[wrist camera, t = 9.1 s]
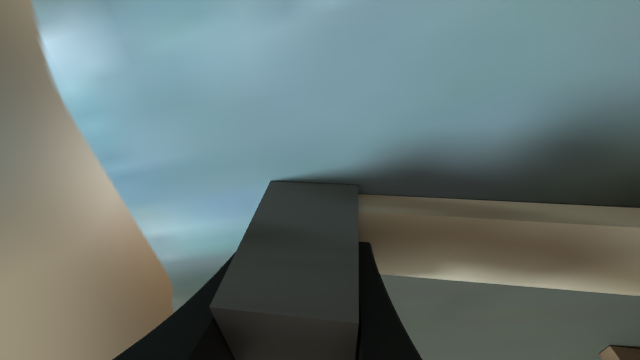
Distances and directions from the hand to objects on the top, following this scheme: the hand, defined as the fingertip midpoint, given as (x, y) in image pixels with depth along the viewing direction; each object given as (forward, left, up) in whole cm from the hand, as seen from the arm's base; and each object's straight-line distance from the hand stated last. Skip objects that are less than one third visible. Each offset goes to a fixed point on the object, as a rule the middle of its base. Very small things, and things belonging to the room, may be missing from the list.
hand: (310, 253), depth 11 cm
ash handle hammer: (0, -6, -2) cm, 7 cm away
